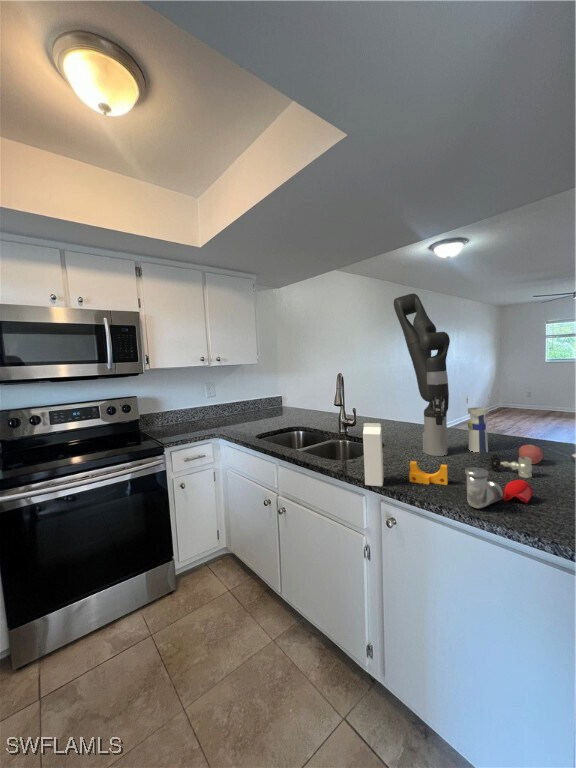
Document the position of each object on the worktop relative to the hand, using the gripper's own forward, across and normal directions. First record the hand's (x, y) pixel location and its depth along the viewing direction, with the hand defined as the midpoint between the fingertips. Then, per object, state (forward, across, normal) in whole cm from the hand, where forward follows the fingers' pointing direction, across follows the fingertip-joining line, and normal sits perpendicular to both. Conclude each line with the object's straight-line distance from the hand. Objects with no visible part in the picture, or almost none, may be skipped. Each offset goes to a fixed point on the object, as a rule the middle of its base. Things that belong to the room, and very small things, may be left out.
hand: (440, 422), depth 125 cm
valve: (+19, +1, +23) cm, 30 cm away
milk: (+17, +26, -21) cm, 38 cm away
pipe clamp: (+18, +19, -4) cm, 26 cm away
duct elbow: (+18, +32, +12) cm, 38 cm away
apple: (+19, -14, +30) cm, 38 cm away
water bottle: (+18, -26, +13) cm, 34 cm away
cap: (+19, +24, +22) cm, 37 cm away
